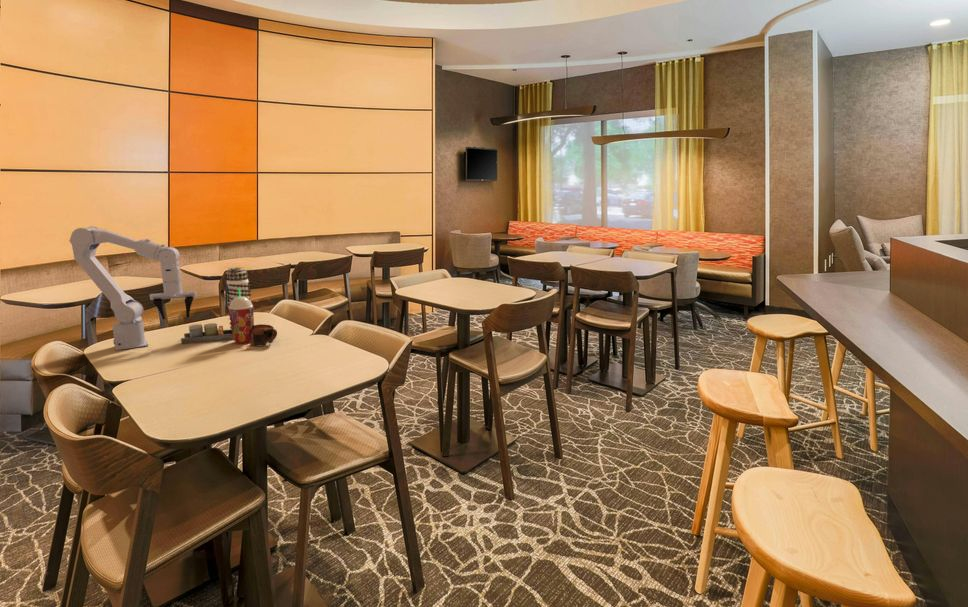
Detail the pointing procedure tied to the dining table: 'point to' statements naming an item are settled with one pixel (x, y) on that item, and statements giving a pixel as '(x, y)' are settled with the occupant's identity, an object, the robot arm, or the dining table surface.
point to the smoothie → (241, 319)
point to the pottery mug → (262, 335)
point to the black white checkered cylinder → (237, 284)
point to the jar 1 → (196, 330)
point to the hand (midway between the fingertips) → (176, 317)
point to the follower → (220, 330)
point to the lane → (207, 337)
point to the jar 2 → (211, 329)
